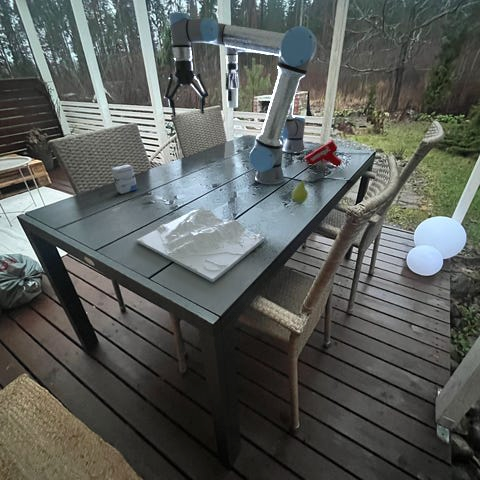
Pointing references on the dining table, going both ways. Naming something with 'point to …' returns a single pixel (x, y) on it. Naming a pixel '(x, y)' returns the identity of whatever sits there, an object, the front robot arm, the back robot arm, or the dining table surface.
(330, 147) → the toy gun
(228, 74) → the back robot arm
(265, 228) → the dining table surface
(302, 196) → the fruit
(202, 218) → the relief map
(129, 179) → the ink box
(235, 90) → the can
